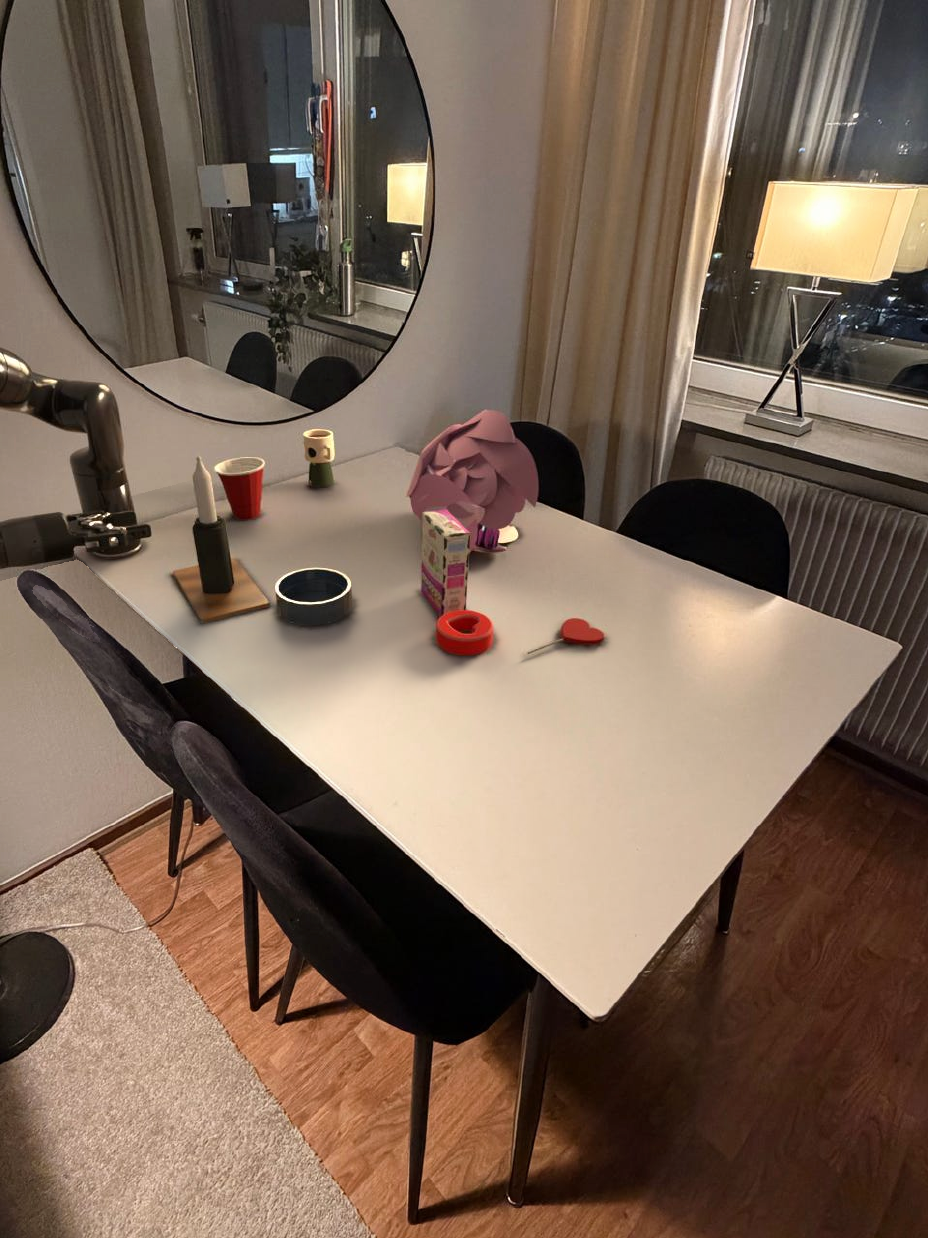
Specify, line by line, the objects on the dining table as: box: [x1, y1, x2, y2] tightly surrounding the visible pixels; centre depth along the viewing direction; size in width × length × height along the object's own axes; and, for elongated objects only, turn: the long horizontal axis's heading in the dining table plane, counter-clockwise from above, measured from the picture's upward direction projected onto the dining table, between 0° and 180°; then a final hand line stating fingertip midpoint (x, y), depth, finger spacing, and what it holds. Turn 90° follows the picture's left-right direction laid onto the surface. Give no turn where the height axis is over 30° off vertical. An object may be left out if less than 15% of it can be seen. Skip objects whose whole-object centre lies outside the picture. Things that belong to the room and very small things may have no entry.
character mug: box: [302, 428, 335, 488], centre depth 179 cm, size 11×7×13 cm, turn 38°
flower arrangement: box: [405, 409, 539, 554], centre depth 155 cm, size 35×24×28 cm
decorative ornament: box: [435, 609, 494, 656], centre depth 125 cm, size 10×10×3 cm
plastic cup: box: [213, 456, 266, 521], centre depth 162 cm, size 11×11×12 cm
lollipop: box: [526, 617, 605, 655], centre depth 125 cm, size 8×1×15 cm
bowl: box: [274, 567, 353, 627], centre depth 131 cm, size 13×13×4 cm
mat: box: [172, 557, 271, 624], centre depth 136 cm, size 20×12×1 cm, turn 32°
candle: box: [191, 455, 234, 594], centre depth 129 cm, size 5×5×25 cm
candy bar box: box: [420, 510, 470, 618], centre depth 131 cm, size 11×5×16 cm, turn 23°
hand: (142, 523), depth 124 cm, fingers open, 8 cm apart
